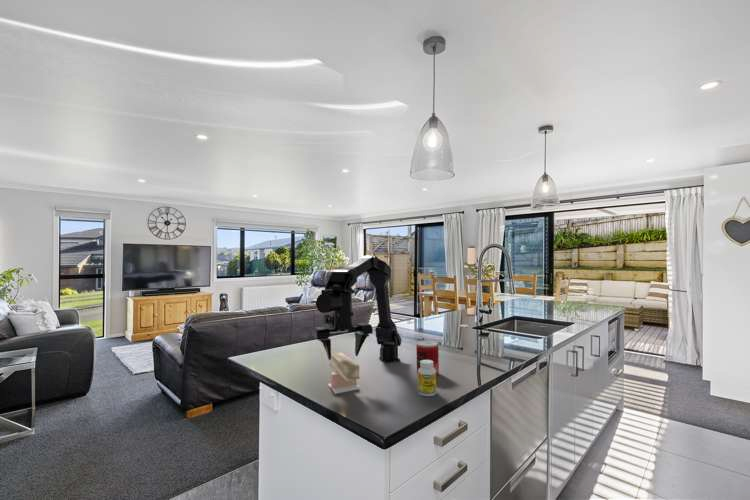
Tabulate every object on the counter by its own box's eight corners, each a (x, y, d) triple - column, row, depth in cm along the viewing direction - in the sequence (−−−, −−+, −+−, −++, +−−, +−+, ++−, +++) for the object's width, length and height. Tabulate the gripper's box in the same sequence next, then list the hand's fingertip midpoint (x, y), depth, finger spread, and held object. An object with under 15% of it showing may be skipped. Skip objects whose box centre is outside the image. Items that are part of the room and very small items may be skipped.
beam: (340, 363, 116) (340, 352, 116) (359, 378, 101) (359, 365, 101) (329, 365, 114) (329, 353, 114) (346, 380, 100) (346, 367, 100)
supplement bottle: (432, 389, 106) (431, 358, 106) (439, 395, 100) (438, 363, 101) (415, 390, 104) (415, 359, 105) (422, 397, 99) (421, 364, 99)
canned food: (440, 371, 122) (439, 340, 122) (436, 379, 114) (436, 346, 115) (419, 369, 124) (418, 339, 125) (414, 376, 117) (414, 344, 117)
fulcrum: (351, 381, 112) (351, 366, 113) (359, 389, 106) (359, 373, 106) (328, 386, 109) (328, 370, 109) (335, 393, 103) (335, 377, 103)
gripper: (359, 303, 119) (359, 348, 119) (307, 307, 111) (307, 355, 111) (373, 307, 109) (373, 356, 109) (317, 312, 101) (317, 364, 101)
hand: (343, 357), depth 108 cm, fingers open, 9 cm apart
